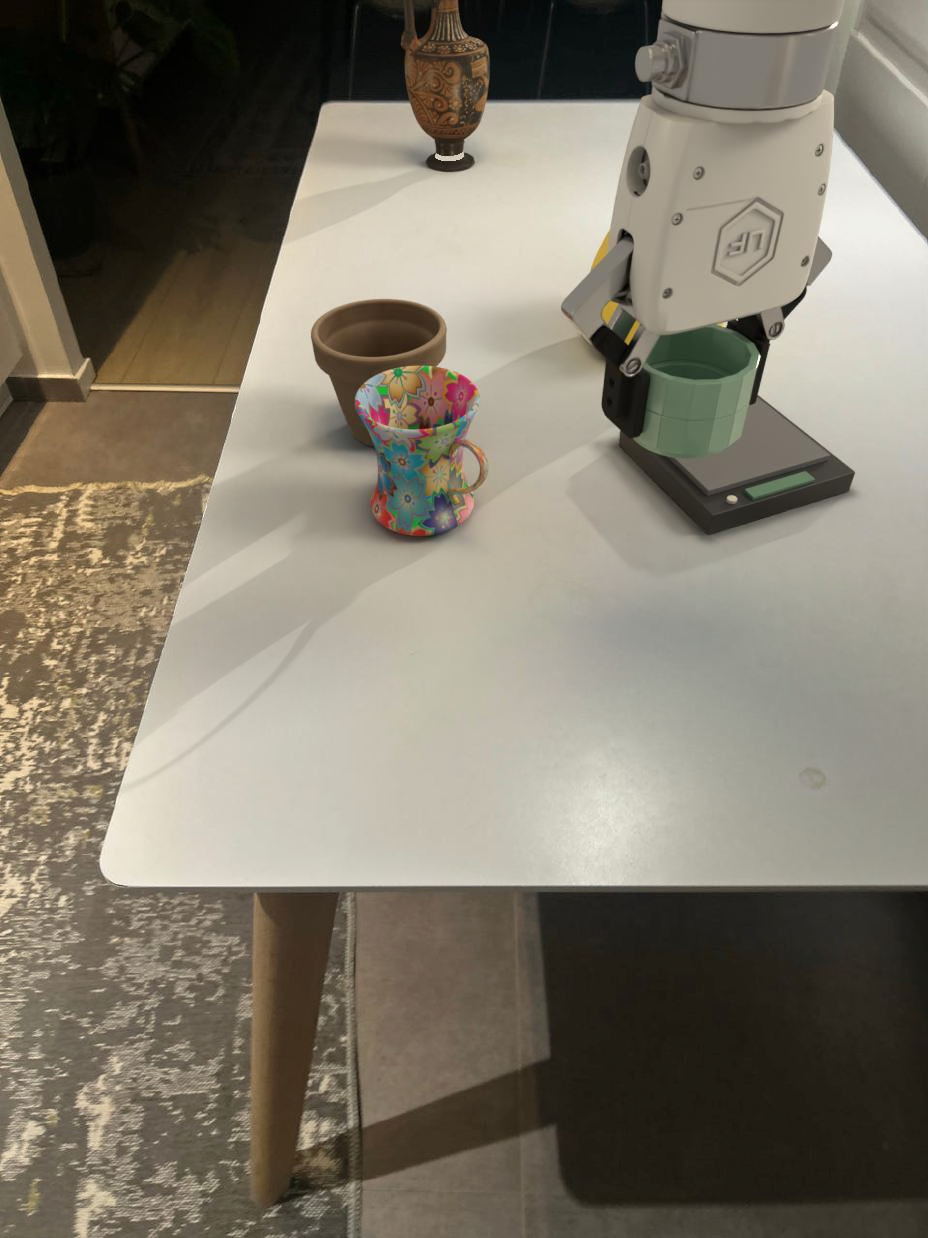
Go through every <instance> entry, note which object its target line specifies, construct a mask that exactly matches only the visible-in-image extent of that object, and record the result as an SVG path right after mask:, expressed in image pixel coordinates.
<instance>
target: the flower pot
mask: <svg viewBox="0 0 928 1238" xmlns="http://www.w3.org/2000/svg"><path fill="white" fill-rule="evenodd" d="M447 329H448V328H447V324H446V321H445V319H444V318H443V316H442V315H441V314H440V313H439V312H438V311H436V310H435V309H433V308H432V307H430V306H427V305H425V304H422V303H418V302H416V301H411V300H406V299H404V300H403V299H397V298H371V299H365V300H364V299H363V300H358V301H353V302H349V303H345V304H342V305H340V306H337V307H334V308H332V309H330V310H329V311H326V312H325V313H324V314H322V315H321V316H319V318H317V319H316V321H315V322H314V323H313V325H312V327H311V330H310V340H311V344H312V349H313V356H314V361H315V363H316V365H317V367H318V368H319V369H320V370H321V371H322V372H323V373H325V374H326V375H328V377H329V380H330V382H331V384H332V387H333V390H334V393H335V396H336V398H337V401H338V404H339V407H340V409H341V411H342V414H343V416H344V419H345V421H346V424H347V426H348V428H349V430H350V432H351V435H352V436H353V437H354V438H355V439H356V440H357V441H358V442H360V443H362V444H364V445H367V446H370V447H374V444H373V441H372V438H371V436H370V434H369V432H368V430H367V428H366V426H365V424H364V423H363V421H362V419H361V418H360V416H359V415H358V413H357V411H356V408H355V396H356V393H357V391H358V390H359V388H360V387H361V386H362V385H363V384H364V383H365V382H366V381H367V380H369V379H370V378H372V377H374V376H376V375H377V374H380V373H382V372H385V371H388V370H391V369H395V368H400V367H407V366H434V367H439V365H440V363H442V361H443V360H444V358H445V356H446V352H447V331H448V330H447Z"/></svg>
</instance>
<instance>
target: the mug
mask: <svg viewBox="0 0 928 1238" xmlns="http://www.w3.org/2000/svg"><path fill="white" fill-rule="evenodd" d="M480 397H481V395H480V392H479V390H478V388H477V386H476V385H475V383H473V381H472V380H471V379H469V378H468V377H466V376H465V375H463V374H461V373H459V372H457V371H454V370H452V369H448V368H444V367H441V366H436V367H434V366H407V367H400V368H395V369H391V370H388V371H385V372H382V373H380V374H377V375H376V376H374V377H372V378H370V379H369V380H367V381H366V382H365V383H364V384H363V385H362V386H361V387H360V388H359V390H358V391H357V393H356V396H355V408H356V411H357V413H358V415H359V416H360V418H361V419H362V421H363V423H364V424H365V426H366V428H367V430H368V432H369V434H370V436H371V438H372V441H373V444H374V446H373V448H374V450H375V456H376V460H377V479H376V484H375V487H374V489H373V492H372V494H371V496H370V502H369V505H370V510H371V512H372V515H373V517H374V518H375V519H376V520H377V522H378V523H380V524H381V525H382V526H383V527H385V528H386V529H388V530H391V531H393V532H395V533H398V534H402V535H407V536H414V537H425V536H434V535H439V534H443V533H446V532H449V531H452V530H454V529H455V528H457V527H459V526H460V525H462V524H463V523H464V522H465V521H466V520H468V518H469V517H470V515H471V514H472V512H473V509H474V506H475V494H474V491H476V490H477V489H478V488H479V487H481V486H482V485H483V483H484V482H485V480H486V479H487V477H488V473H489V460H488V458H487V456H486V454H485V452H484V451H483V449H482V448H481V447H480V446H479V444H477V443H476V442H474V441H473V440H471V439H466V438H467V436H468V435H467V434H468V432H469V428H470V427H471V423H472V421H473V419H474V417H475V415H476V413H477V412H478V409H479V405H480V403H481V402H480V401H481V398H480ZM465 448H466V449H468V450H469V451H470V452H471V453H472V454H473V456H475V458H476V460H477V462H478V465H479V473H478V474H479V475H478V476H477V479H476V480H475V482H474V483H473V484H472V485H470V484H469V483H468V480H467V478H466V474H465V469H464V450H465Z"/></svg>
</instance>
